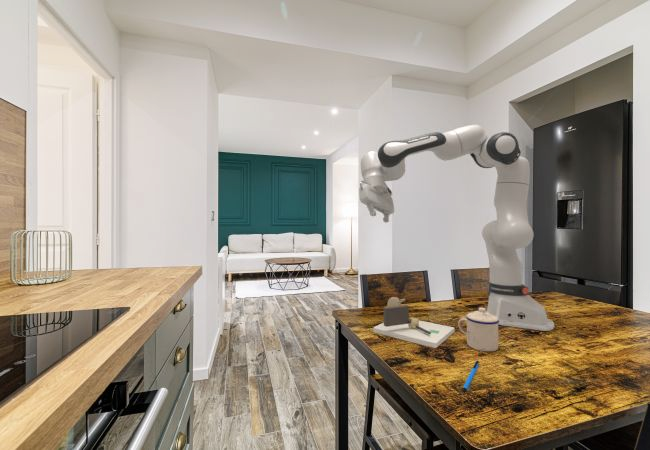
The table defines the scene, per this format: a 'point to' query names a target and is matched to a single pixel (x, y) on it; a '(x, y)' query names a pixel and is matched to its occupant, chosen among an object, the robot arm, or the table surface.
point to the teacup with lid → (481, 330)
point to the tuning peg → (400, 317)
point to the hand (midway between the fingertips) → (380, 218)
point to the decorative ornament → (394, 302)
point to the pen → (470, 377)
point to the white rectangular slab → (417, 333)
